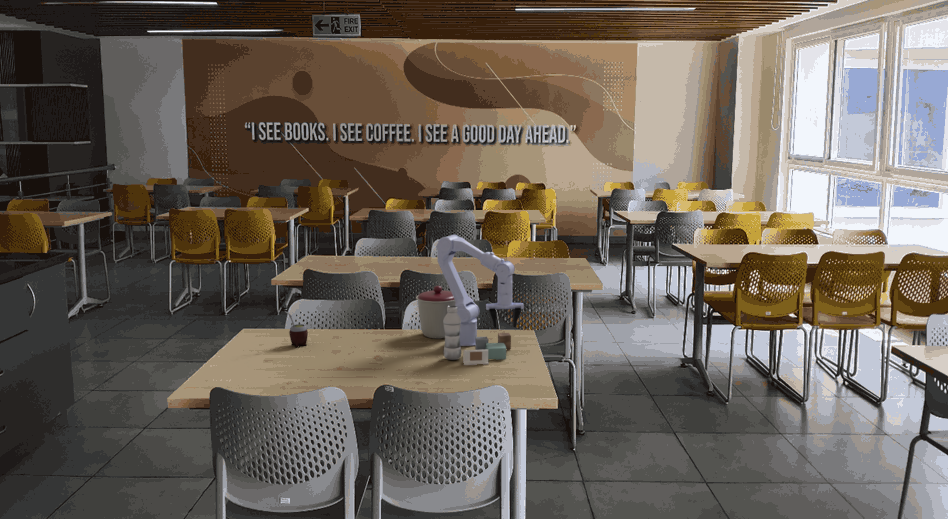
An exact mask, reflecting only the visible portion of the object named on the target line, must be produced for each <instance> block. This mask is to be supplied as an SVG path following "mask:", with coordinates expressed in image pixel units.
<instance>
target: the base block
mask: <svg viewBox="0 0 948 519" xmlns="http://www.w3.org/2000/svg"><path fill="white" fill-rule="evenodd" d="M486 350H488V359H496V360H507V350H506V346H505V344H504V343H498V342H488V343H486Z"/></svg>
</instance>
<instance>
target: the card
mask: <svg viewBox="0 0 948 519" xmlns="http://www.w3.org/2000/svg"><path fill="white" fill-rule="evenodd" d="M462 351H463V352H462V353H463V358H462V360H463V361H462V363H464V364H463V366H477V364H483V365H489V360H488V350H475V349H465V350H464V349H463V350H462Z"/></svg>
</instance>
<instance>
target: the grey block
mask: <svg viewBox="0 0 948 519" xmlns="http://www.w3.org/2000/svg"><path fill="white" fill-rule="evenodd" d="M486 343H489V338H488V336H477V337H475V349H474V350H486Z"/></svg>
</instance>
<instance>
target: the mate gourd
mask: <svg viewBox="0 0 948 519" xmlns="http://www.w3.org/2000/svg"><path fill="white" fill-rule="evenodd" d="M284 312H285V314H287V315H288V317H289V318H290V320H291V324H292V325H291V327H290V328H289V332H288V333H289V338H290V345H291V346H295V348H296V349H297V348H299V347H307V346H308V345H307V342H308V335H309V331H308V328H307V326H306V325H305V324H301V323H300V324H299V323H298V324H295V322H294V320H293V317H292V316H293V315H291V313H289V312H288V311H286V310H284Z"/></svg>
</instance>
